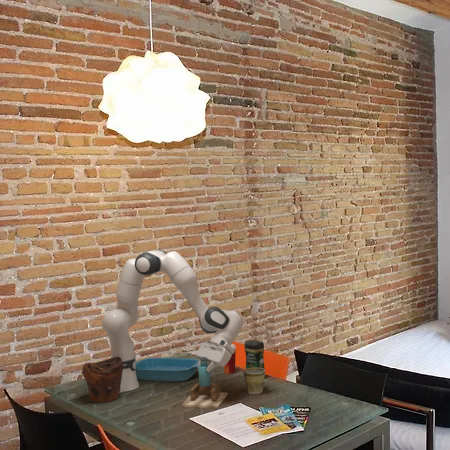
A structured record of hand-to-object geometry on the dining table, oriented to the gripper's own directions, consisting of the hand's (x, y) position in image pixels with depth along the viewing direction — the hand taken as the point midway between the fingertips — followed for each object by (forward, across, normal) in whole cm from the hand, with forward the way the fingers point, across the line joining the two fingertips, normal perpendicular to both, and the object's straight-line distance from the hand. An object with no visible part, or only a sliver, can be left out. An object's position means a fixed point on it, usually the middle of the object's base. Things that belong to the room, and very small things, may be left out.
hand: (203, 369), depth 272 cm
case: (+32, -36, -13) cm, 50 cm away
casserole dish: (+5, -46, +15) cm, 49 cm away
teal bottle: (+4, 0, +5) cm, 7 cm away
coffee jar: (-17, -12, +37) cm, 43 cm away
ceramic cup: (-8, +5, +28) cm, 30 cm away
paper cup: (-14, -28, +34) cm, 47 cm away
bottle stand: (+10, 0, +10) cm, 14 cm away
